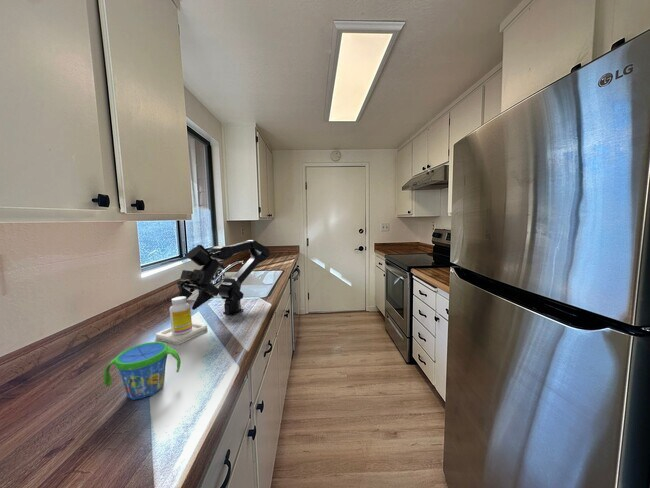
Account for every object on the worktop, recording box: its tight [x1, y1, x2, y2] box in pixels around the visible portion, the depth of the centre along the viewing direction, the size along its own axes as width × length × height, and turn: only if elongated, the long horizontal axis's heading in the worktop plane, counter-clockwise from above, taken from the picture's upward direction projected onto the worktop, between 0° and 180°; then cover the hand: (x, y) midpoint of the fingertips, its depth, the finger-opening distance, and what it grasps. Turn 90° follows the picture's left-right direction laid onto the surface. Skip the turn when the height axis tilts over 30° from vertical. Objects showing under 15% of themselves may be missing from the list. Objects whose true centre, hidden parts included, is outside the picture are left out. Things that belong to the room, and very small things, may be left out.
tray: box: [155, 321, 208, 346], centre depth 93 cm, size 12×12×2 cm
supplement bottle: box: [168, 296, 193, 335], centre depth 92 cm, size 7×7×13 cm
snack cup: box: [103, 341, 181, 401], centre depth 62 cm, size 16×10×10 cm
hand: (185, 307), depth 94 cm, fingers open, 9 cm apart
